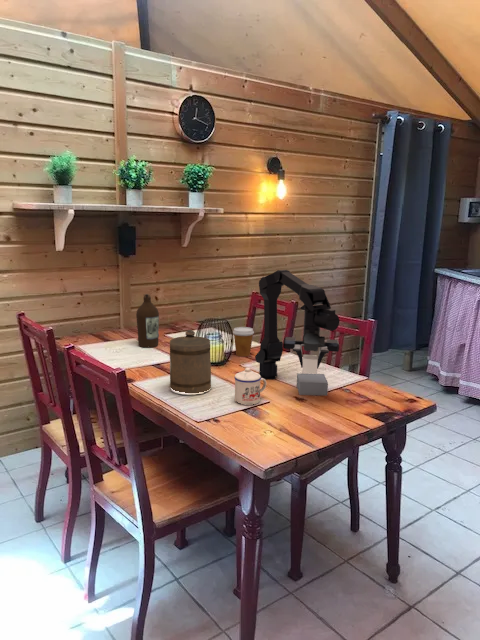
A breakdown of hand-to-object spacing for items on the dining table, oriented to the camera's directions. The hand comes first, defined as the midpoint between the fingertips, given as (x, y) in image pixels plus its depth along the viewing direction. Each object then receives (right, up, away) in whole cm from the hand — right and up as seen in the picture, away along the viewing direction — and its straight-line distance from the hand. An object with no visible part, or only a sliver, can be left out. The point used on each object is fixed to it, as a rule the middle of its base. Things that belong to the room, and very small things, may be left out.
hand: (309, 367), depth 173 cm
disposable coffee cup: (-23, +1, +53) cm, 57 cm away
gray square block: (+2, -9, +9) cm, 13 cm away
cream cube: (0, -1, 0) cm, 1 cm away
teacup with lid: (-20, -11, -2) cm, 23 cm away
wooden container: (-42, -9, +9) cm, 44 cm away
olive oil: (-69, +4, +67) cm, 96 cm away
